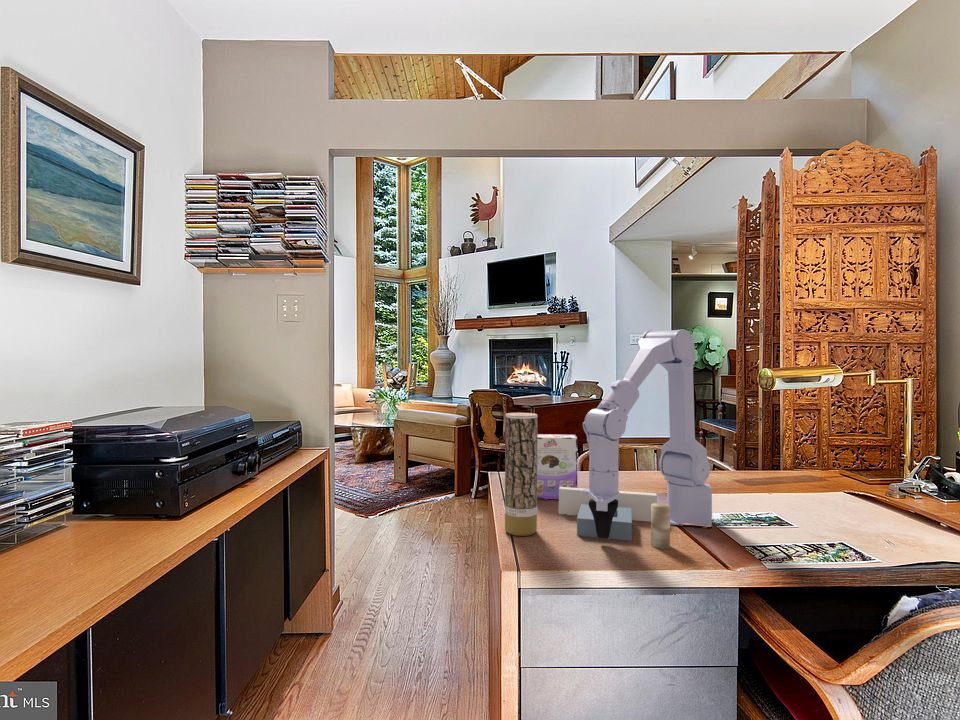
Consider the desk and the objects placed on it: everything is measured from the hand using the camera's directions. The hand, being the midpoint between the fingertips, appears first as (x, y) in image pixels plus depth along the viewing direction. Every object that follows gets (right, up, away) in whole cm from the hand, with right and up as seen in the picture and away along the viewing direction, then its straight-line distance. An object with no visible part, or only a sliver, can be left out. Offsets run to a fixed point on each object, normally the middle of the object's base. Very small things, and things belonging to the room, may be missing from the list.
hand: (603, 537), depth 108 cm
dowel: (+11, -2, -1) cm, 11 cm away
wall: (+5, -1, +18) cm, 19 cm away
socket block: (+2, -2, +9) cm, 9 cm away
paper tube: (-16, -1, +7) cm, 17 cm away
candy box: (-6, -1, +35) cm, 36 cm away
